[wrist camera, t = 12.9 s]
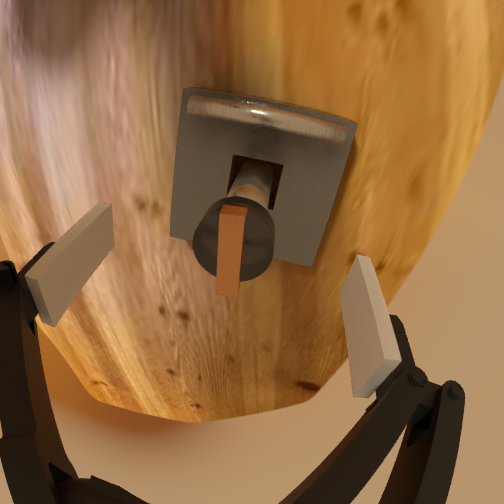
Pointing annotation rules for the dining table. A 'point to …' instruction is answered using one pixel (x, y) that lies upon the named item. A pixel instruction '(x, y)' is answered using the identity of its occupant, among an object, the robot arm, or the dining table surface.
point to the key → (238, 230)
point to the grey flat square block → (263, 148)
